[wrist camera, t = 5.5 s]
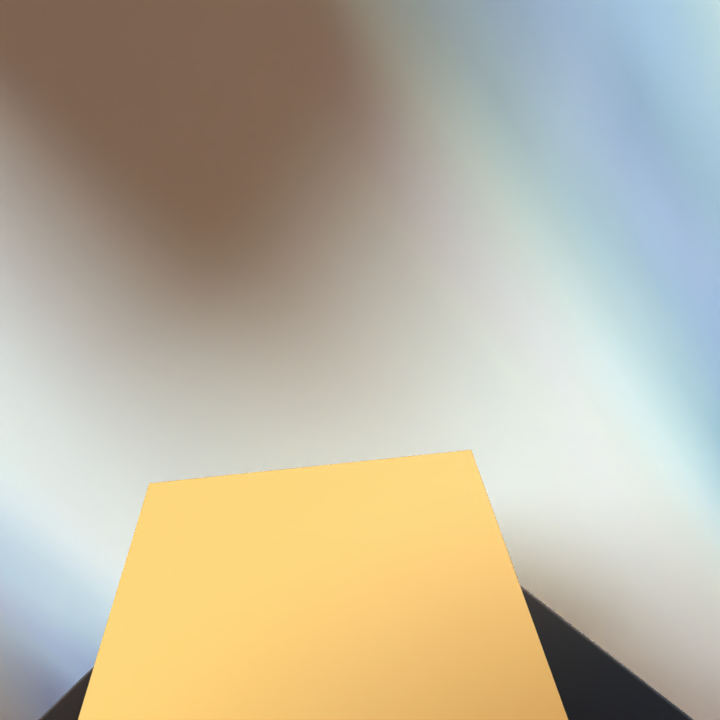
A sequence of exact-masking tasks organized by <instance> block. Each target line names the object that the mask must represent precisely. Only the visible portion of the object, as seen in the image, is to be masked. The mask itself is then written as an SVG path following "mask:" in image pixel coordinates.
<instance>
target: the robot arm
mask: <svg viewBox="0 0 720 720" xmlns="http://www.w3.org/2000/svg"><path fill="white" fill-rule="evenodd" d="M520 587H521V590H522V593H523V595H524V598H525V601H526V604H527V607H528V609H529V612H530V615H531V618H532V620H533V623H534V626H535V629H536V632H537V634H538V637H539V640H540V643H541V645H542V648H543V651H544V654H545V657H546V659H547V662H548V665H549V668H550V670H551V673H552V676H553V679H554V682H555V684H556V687H557V690H558V693H559V695H560V698H561V701H562V704H563V707H564V709H565V712H566V715H567V718H568V720H693V719H692V718H691V717H689V716H688V715H687V714H685V713H684V712H683V711H682V710H680V709H679V708H678V707H676V706H675V705H674V704H672V703H671V702H670V701H669V700H667V699H666V698H665V697H663V696H662V695H661V694H660V693H658V692H657V691H656V690H654V689H653V688H652V687H651V686H649V685H648V684H647V683H645V682H644V681H643V680H642V679H640V678H639V677H638V676H636V675H635V674H634V673H633V672H631V671H630V670H629V669H627V668H626V667H625V666H623V665H622V664H621V663H620V662H618V661H617V660H616V659H614V658H613V657H612V656H611V655H609V654H608V653H607V652H605V651H604V650H603V649H602V648H600V647H599V646H598V645H596V644H595V643H594V642H593V641H591V640H590V639H589V638H587V637H586V636H585V635H583V634H582V633H581V632H580V631H578V630H577V629H576V628H574V627H573V626H572V625H571V624H569V623H568V622H567V621H565V620H564V619H563V618H562V617H560V616H559V615H558V614H556V613H555V612H554V611H553V610H551V609H550V608H549V607H547V606H546V605H545V604H544V603H542V602H541V601H540V600H538V599H537V598H536V597H534V596H533V595H532V594H531V593H529V592H528V591H527V590H525V589H524V588H523V587H522V586H520ZM93 668H94V667H93ZM93 668H92V669H90V670H89V671H88V672H87V673H86V674H85V675H84V676H83V677H82V678H81V679H80V680H79V681H78V682H77V683H76V684H75V685H74V686H73V687H72V688H71V689H70V690H69V691H68V692H67V693H66V694H65V695H64V696H63V697H62V698H61V699H59V700H58V701H57V702H56V703H55V704H54V705H53V706H52V707H51V708H50V709H49V710H48V711H47V712H46V713H45V714H44V715H43V716H42V717H41V718H40V719H39V720H78V718H79V715H80V711H81V708H82V705H83V701H84V698H85V695H86V691H87V688H88V685H89V681H90V678H91V675H92V672H93Z"/></svg>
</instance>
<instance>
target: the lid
mask: <svg viewBox="0 0 720 720" xmlns="http://www.w3.org/2000/svg"><path fill="white" fill-rule="evenodd" d="M78 720H568V718H567V715H566V712H565V709H564V707H563V704H562V701H561V698H560V695H559V693H558V690H557V687H556V684H555V682H554V679H553V676H552V673H551V670H550V668H549V665H548V662H547V659H546V657H545V654H544V651H543V648H542V645H541V643H540V640H539V637H538V634H537V632H536V629H535V626H534V623H533V620H532V618H531V615H530V612H529V609H528V607H527V604H526V601H525V598H524V595H523V593H522V590H521V587H520V584H519V582H518V579H517V576H516V573H515V570H514V568H513V565H512V562H511V559H510V557H509V554H508V551H507V548H506V545H505V543H504V540H503V537H502V534H501V532H500V529H499V526H498V523H497V520H496V518H495V515H494V512H493V509H492V507H491V504H490V501H489V498H488V495H487V493H486V490H485V487H484V484H483V482H482V479H481V476H480V473H479V470H478V468H477V465H476V462H475V459H474V457H473V454H472V451H471V450H466V451H456V452H447V453H437V454H428V455H418V456H408V457H399V458H389V459H379V460H370V461H360V462H351V463H341V464H331V465H322V466H312V467H302V468H293V469H283V470H274V471H264V472H254V473H245V474H235V475H226V476H216V477H206V478H197V479H187V480H177V481H168V482H158V483H149V486H148V489H147V493H146V496H145V499H144V503H143V506H142V509H141V513H140V516H139V519H138V522H137V526H136V529H135V532H134V536H133V539H132V542H131V546H130V549H129V552H128V556H127V559H126V562H125V566H124V569H123V572H122V575H121V579H120V582H119V585H118V589H117V592H116V595H115V599H114V602H113V605H112V609H111V612H110V615H109V619H108V622H107V625H106V628H105V632H104V635H103V638H102V642H101V645H100V648H99V652H98V655H97V658H96V662H95V665H94V668H93V672H92V675H91V678H90V681H89V685H88V688H87V691H86V695H85V698H84V701H83V705H82V708H81V711H80V715H79V718H78Z"/></svg>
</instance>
